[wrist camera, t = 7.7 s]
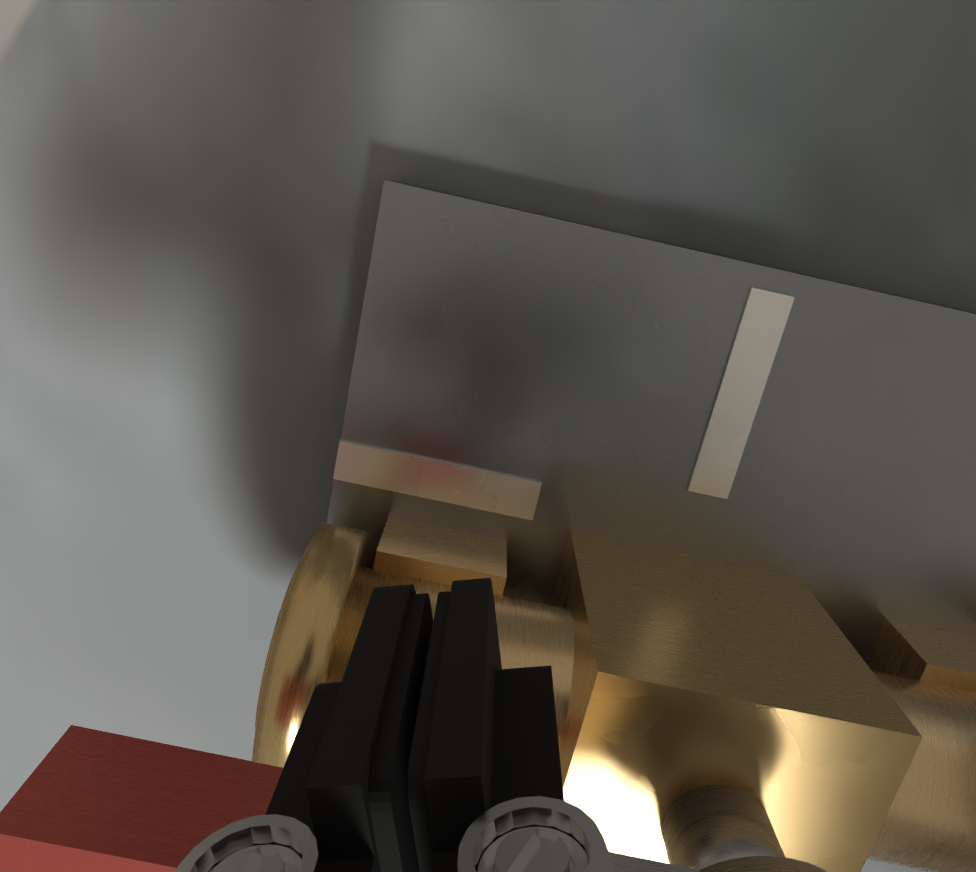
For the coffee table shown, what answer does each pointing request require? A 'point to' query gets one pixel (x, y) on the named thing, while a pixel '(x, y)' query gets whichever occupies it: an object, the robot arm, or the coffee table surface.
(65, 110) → the coffee table surface
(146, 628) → the coffee table surface
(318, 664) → the valve
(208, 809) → the lever
